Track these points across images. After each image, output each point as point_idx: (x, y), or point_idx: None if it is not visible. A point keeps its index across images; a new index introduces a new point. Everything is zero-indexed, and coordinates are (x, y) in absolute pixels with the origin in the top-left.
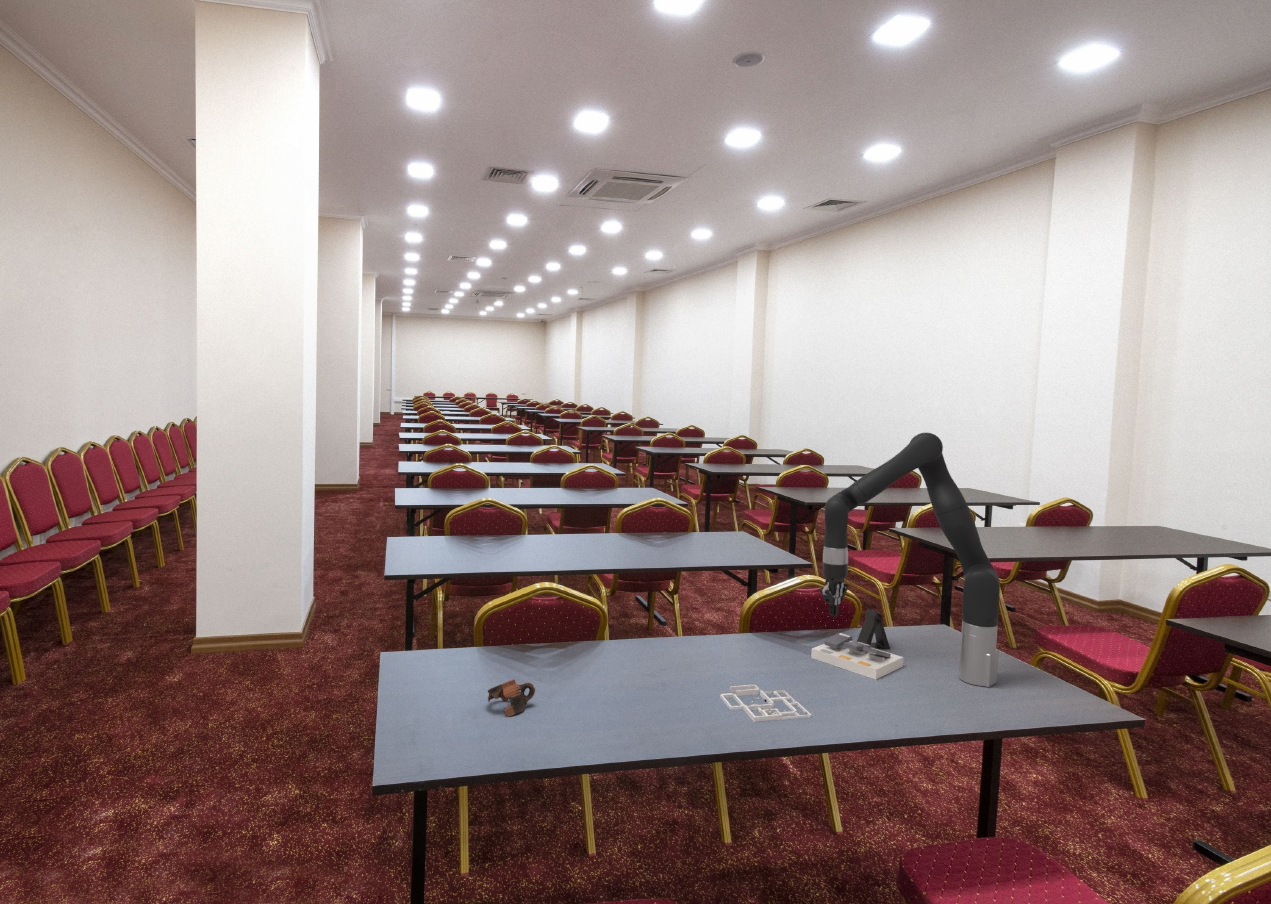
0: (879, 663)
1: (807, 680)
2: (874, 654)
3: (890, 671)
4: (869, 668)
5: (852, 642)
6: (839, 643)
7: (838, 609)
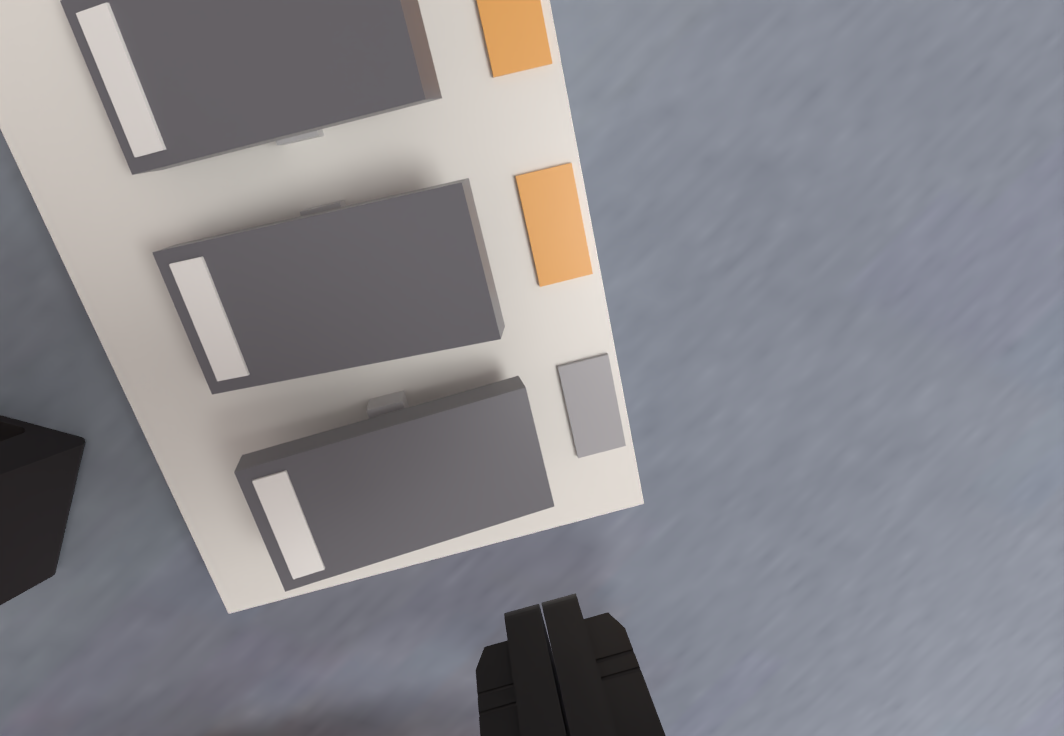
0: None
1: (985, 143)
2: None
3: None
4: None
5: (340, 359)
6: (476, 401)
7: (478, 706)
